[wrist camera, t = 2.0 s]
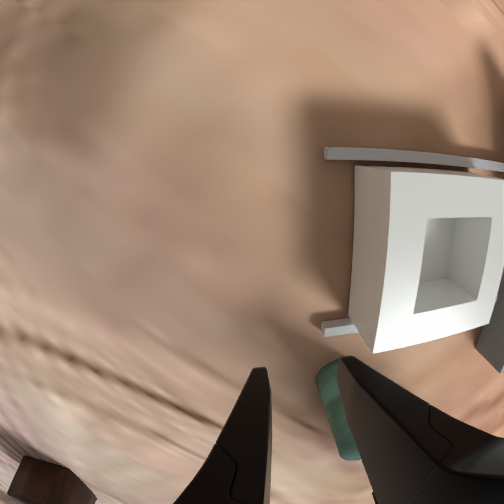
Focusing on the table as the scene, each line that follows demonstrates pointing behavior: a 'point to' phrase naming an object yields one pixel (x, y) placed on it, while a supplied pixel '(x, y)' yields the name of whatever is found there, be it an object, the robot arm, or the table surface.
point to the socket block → (424, 253)
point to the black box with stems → (48, 484)
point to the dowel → (336, 411)
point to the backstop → (500, 325)
